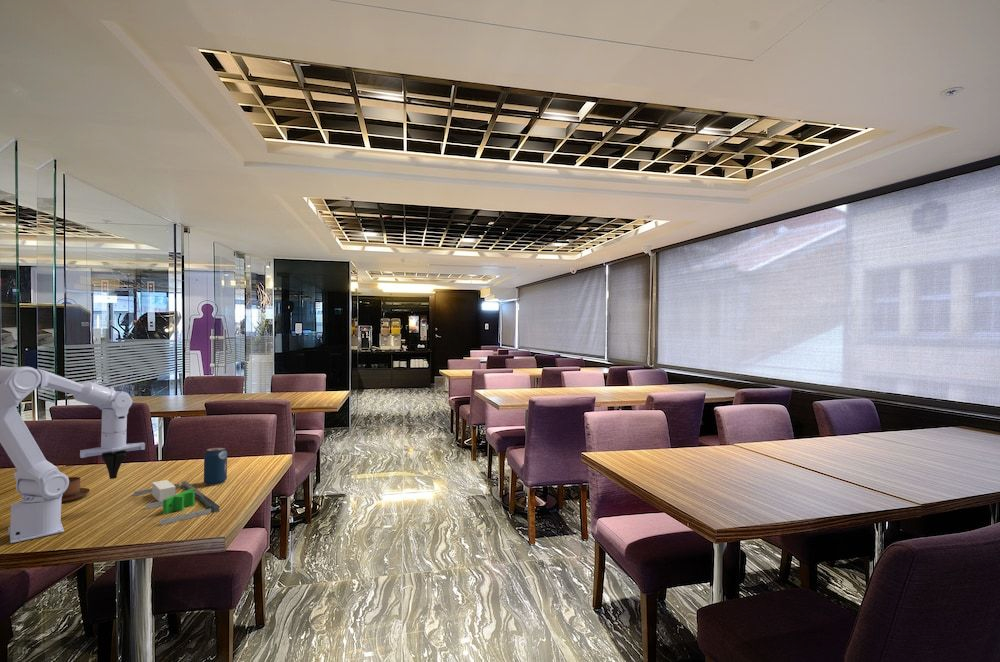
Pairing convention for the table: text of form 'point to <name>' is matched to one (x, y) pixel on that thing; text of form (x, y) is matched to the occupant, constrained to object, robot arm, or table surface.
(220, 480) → the soda can
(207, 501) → the grey pronged frame
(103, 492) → the table surface
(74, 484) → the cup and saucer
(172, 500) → the pipe clamp
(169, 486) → the seated block
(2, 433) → the robot arm
